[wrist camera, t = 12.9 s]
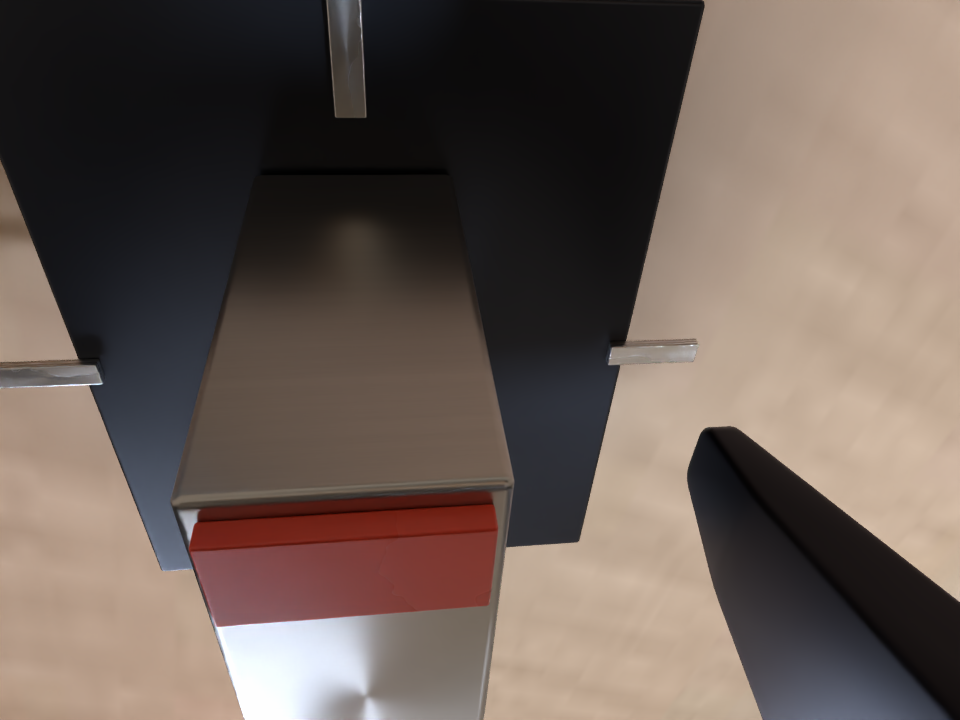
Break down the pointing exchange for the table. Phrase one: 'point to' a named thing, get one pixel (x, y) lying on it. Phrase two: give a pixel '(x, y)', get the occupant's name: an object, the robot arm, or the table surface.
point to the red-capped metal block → (349, 457)
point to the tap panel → (345, 151)
